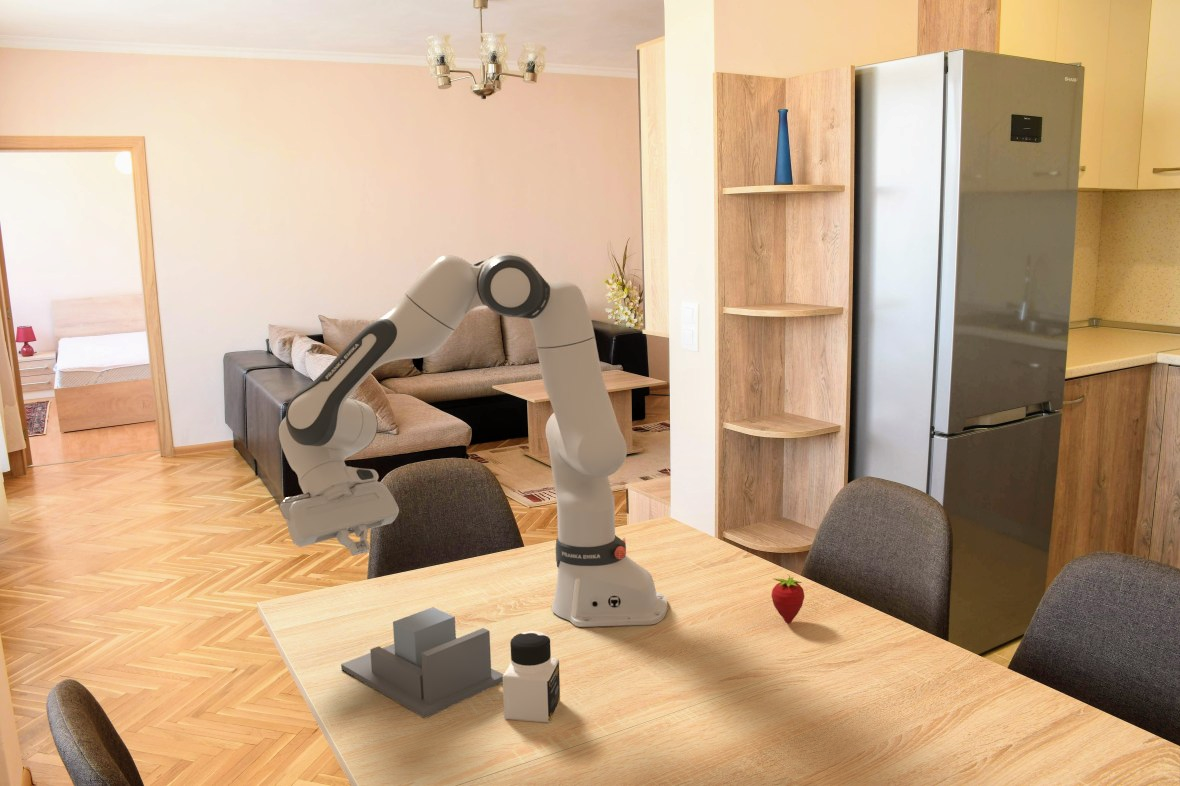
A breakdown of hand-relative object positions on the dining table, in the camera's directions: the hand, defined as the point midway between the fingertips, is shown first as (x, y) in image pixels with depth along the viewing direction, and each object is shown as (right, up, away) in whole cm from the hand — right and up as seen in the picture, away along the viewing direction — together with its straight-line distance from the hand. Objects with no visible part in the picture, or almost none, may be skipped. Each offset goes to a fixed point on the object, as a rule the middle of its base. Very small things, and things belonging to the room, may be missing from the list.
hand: (361, 552), depth 161 cm
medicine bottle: (+31, -21, -20) cm, 43 cm away
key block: (+13, -18, -9) cm, 24 cm away
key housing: (+12, -19, -8) cm, 24 cm away
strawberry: (+77, -15, +9) cm, 79 cm away
